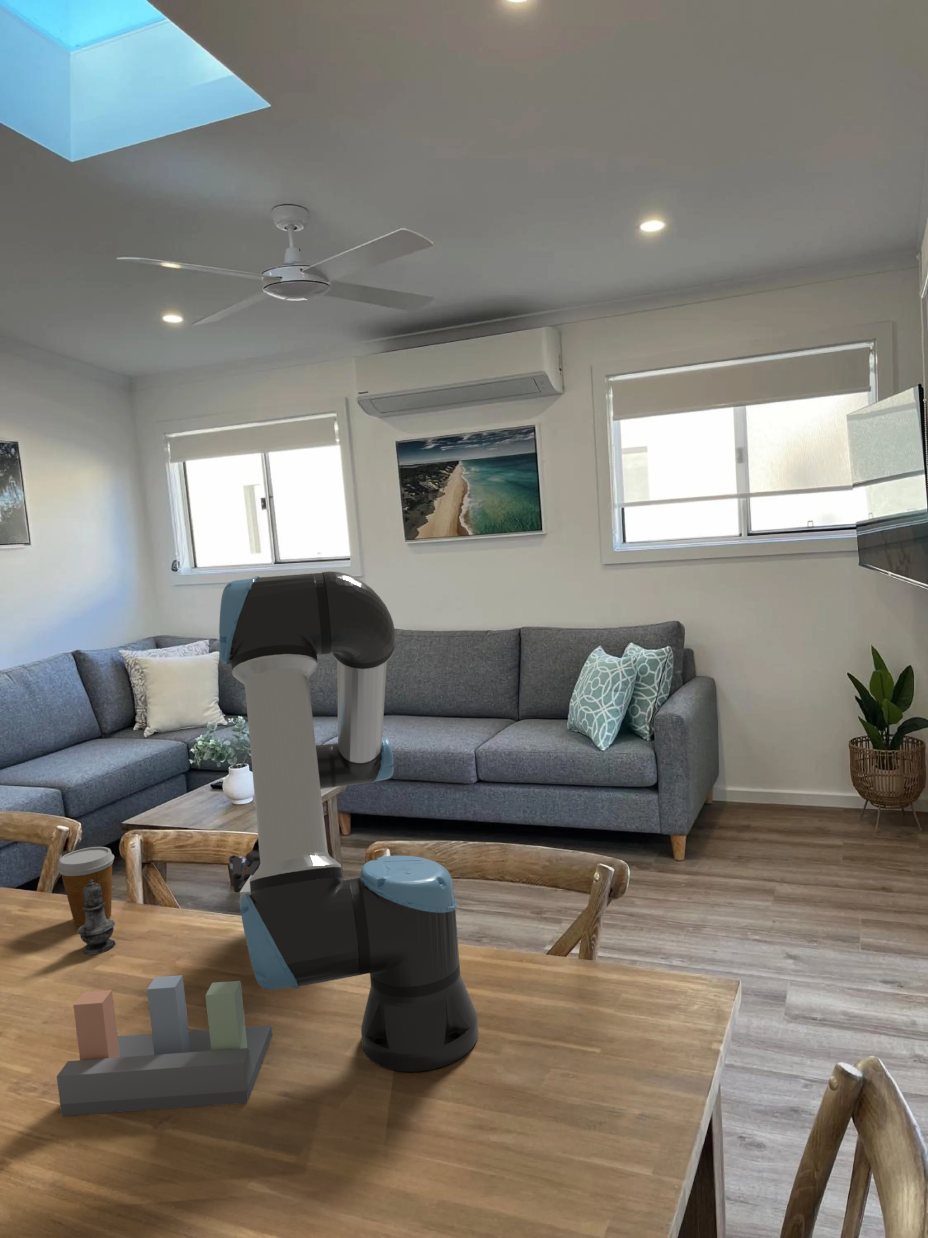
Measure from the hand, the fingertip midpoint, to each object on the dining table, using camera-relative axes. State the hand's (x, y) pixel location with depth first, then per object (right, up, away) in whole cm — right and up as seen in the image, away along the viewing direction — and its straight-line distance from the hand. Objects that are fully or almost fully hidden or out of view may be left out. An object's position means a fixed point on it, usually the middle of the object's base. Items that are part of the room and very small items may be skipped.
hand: (245, 901), depth 120 cm
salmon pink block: (-15, -18, -11) cm, 26 cm away
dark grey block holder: (-7, -19, -9) cm, 22 cm away
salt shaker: (-32, -17, +29) cm, 46 cm away
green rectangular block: (+1, -17, -11) cm, 20 cm away
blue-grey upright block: (-7, -17, -9) cm, 20 cm away
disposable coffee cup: (-38, -16, +41) cm, 58 cm away
